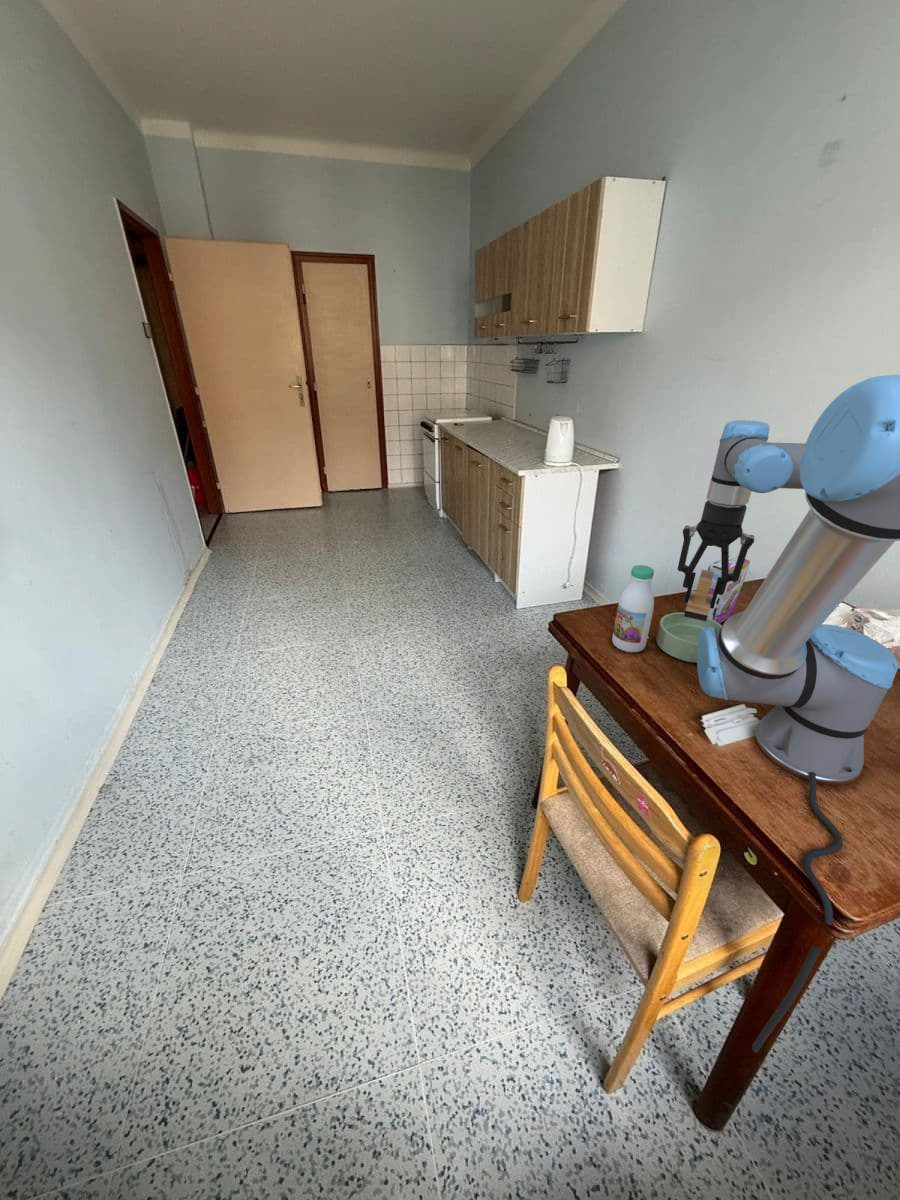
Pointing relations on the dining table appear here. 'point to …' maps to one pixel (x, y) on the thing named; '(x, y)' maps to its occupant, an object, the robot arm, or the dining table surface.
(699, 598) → the brush
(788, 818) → the dining table surface
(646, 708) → the dining table surface
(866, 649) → the robot arm
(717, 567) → the candy bar box
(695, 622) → the bowl
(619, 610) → the milk bottle
